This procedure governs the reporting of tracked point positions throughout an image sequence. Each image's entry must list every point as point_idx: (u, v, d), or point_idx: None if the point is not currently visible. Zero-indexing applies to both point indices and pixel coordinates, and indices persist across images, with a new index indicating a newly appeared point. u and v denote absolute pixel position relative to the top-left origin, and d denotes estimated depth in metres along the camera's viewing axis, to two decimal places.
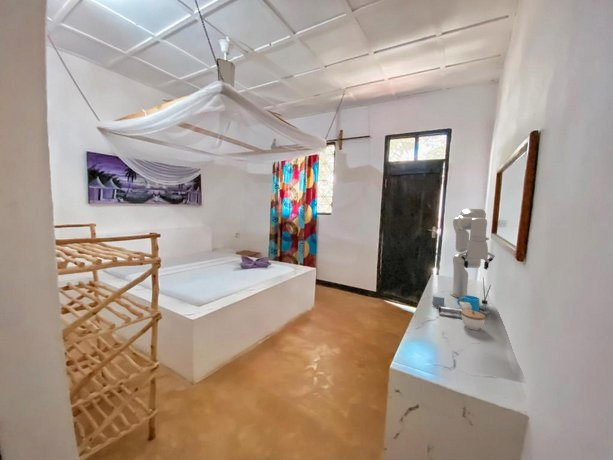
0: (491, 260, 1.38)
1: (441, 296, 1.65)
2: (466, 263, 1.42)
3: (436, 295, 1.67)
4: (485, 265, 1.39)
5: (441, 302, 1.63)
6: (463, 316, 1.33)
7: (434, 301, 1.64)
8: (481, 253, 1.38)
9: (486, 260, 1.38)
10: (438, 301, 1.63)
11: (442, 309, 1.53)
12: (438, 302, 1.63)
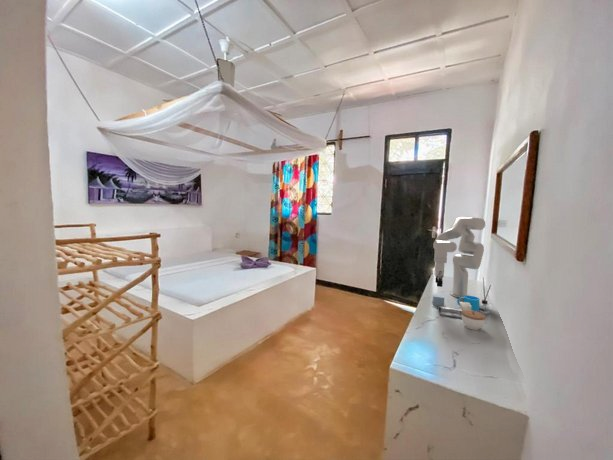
0: None
1: (441, 296, 1.65)
2: (441, 282, 1.60)
3: (436, 295, 1.67)
4: None
5: (441, 302, 1.63)
6: (463, 316, 1.33)
7: (434, 301, 1.64)
8: None
9: None
10: (438, 301, 1.63)
11: (442, 309, 1.53)
12: (438, 302, 1.63)
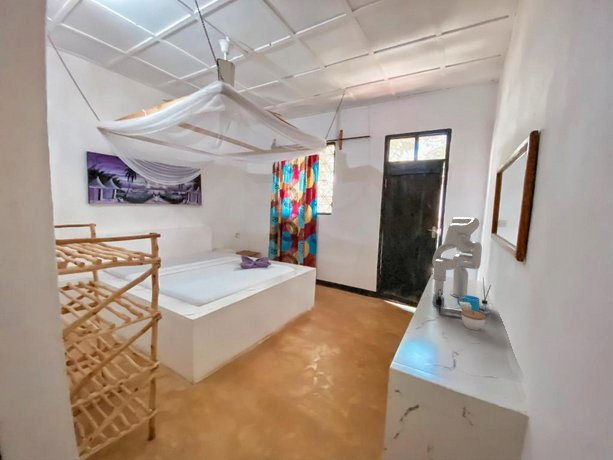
0: None
1: None
2: (441, 301, 1.62)
3: (436, 295, 1.67)
4: None
5: None
6: (463, 316, 1.33)
7: (434, 301, 1.64)
8: None
9: None
10: None
11: (442, 309, 1.53)
12: None
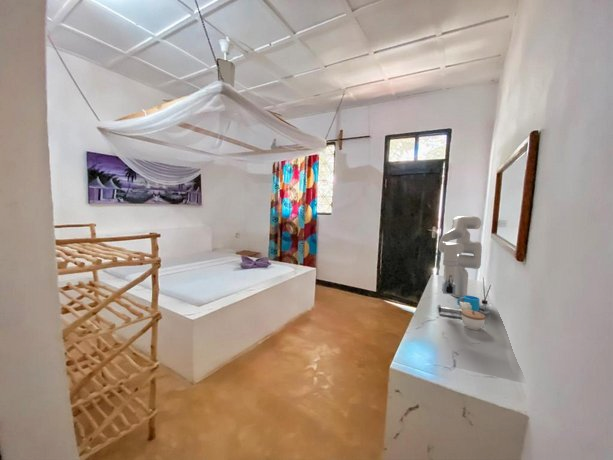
0: None
1: None
2: (452, 289, 1.47)
3: (446, 282, 1.52)
4: None
5: None
6: (463, 316, 1.33)
7: (444, 289, 1.50)
8: None
9: None
10: None
11: (442, 309, 1.53)
12: None
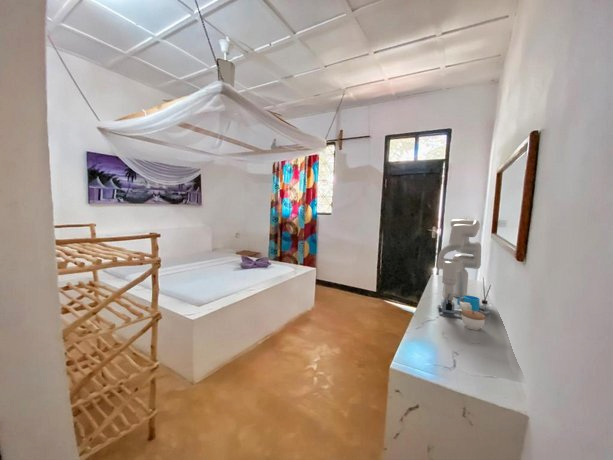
0: None
1: None
2: (451, 306, 1.47)
3: (445, 300, 1.53)
4: None
5: None
6: (463, 316, 1.33)
7: (443, 307, 1.51)
8: None
9: None
10: None
11: None
12: None
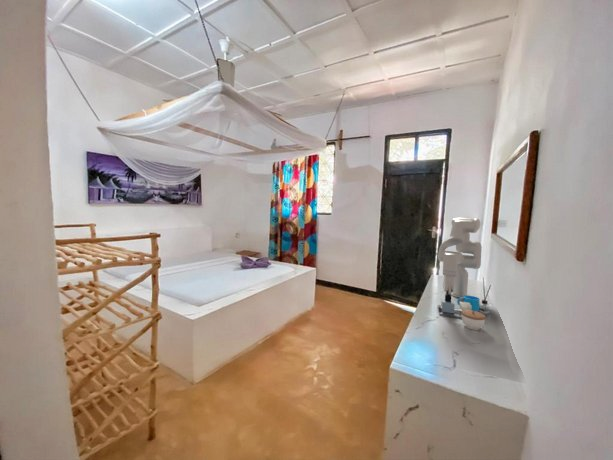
0: None
1: (451, 302, 1.51)
2: (450, 297, 1.51)
3: None
4: None
5: (451, 308, 1.49)
6: (463, 316, 1.33)
7: (443, 307, 1.51)
8: None
9: None
10: (447, 307, 1.50)
11: None
12: (448, 308, 1.50)
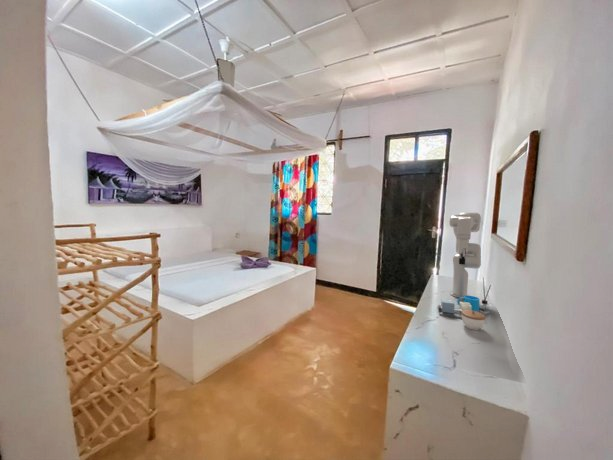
0: None
1: (451, 302, 1.51)
2: (464, 260, 1.58)
3: (445, 300, 1.53)
4: None
5: (451, 308, 1.49)
6: (463, 316, 1.33)
7: (443, 307, 1.51)
8: None
9: None
10: (447, 307, 1.50)
11: None
12: (448, 308, 1.50)
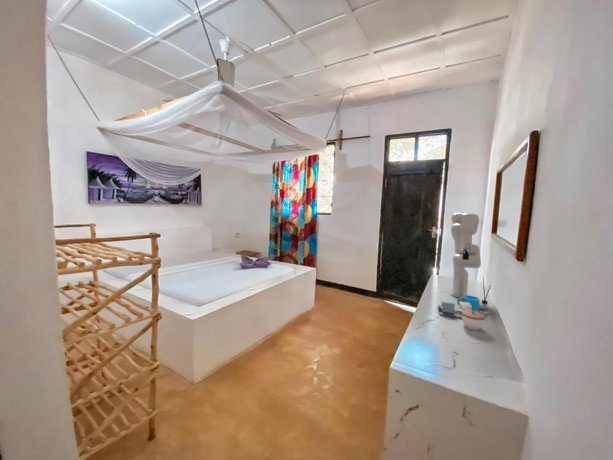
0: None
1: (451, 302, 1.51)
2: (468, 255, 1.59)
3: (445, 300, 1.53)
4: None
5: (451, 308, 1.49)
6: (463, 316, 1.33)
7: (443, 307, 1.51)
8: None
9: None
10: (447, 307, 1.50)
11: None
12: (448, 308, 1.50)
